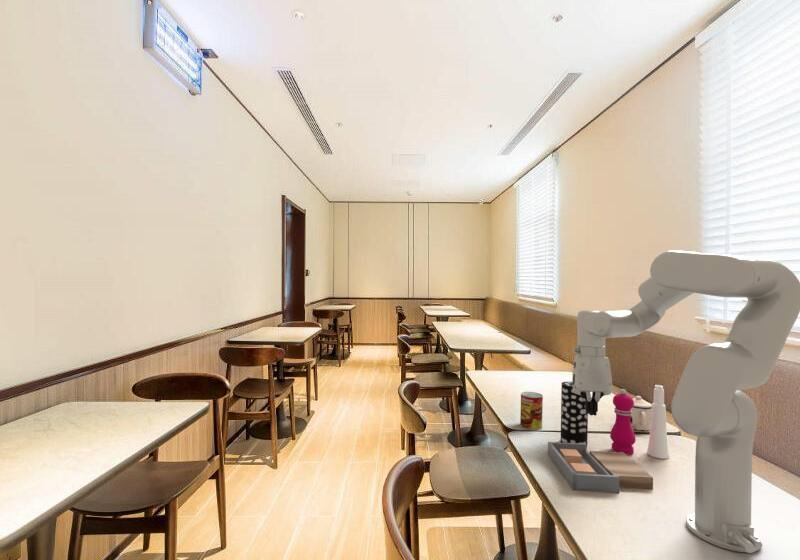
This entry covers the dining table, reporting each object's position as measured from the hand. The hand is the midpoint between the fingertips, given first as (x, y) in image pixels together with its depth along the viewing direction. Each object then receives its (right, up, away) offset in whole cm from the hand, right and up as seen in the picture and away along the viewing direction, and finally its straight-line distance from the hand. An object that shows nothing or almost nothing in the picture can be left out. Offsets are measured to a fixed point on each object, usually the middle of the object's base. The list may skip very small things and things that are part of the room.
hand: (591, 414), depth 120 cm
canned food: (-7, -16, +33) cm, 37 cm away
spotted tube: (+2, -16, +16) cm, 23 cm away
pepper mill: (+15, -16, +11) cm, 25 cm away
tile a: (-7, -12, -8) cm, 16 cm away
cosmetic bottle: (+25, -16, +9) cm, 31 cm away
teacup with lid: (+34, -17, +33) cm, 50 cm away
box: (-5, -15, -4) cm, 17 cm away
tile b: (-6, -12, +2) cm, 13 cm away
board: (+5, -15, -5) cm, 17 cm away
